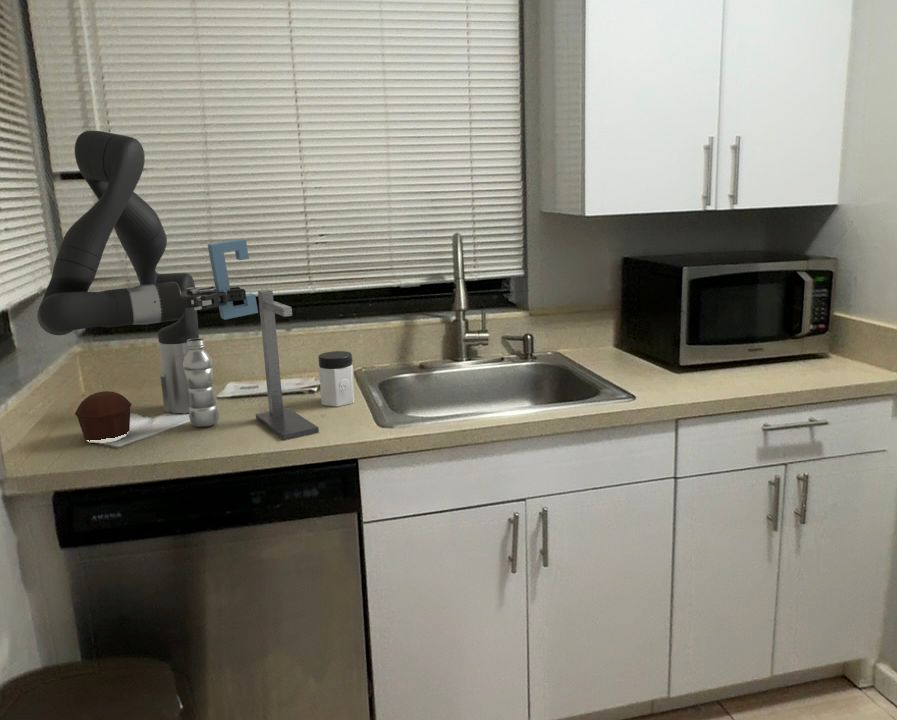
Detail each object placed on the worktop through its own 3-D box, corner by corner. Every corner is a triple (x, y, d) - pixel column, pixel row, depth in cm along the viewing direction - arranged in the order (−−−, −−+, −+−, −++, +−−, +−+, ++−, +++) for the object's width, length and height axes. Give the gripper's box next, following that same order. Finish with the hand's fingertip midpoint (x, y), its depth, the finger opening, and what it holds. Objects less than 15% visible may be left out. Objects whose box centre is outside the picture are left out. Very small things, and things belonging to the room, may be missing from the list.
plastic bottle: (204, 431, 168) (193, 344, 164) (184, 427, 172) (173, 341, 167) (226, 423, 174) (217, 338, 169) (206, 419, 177) (196, 335, 172)
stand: (284, 440, 161) (271, 301, 154) (255, 419, 176) (243, 291, 169) (318, 432, 165) (308, 296, 158) (288, 412, 180) (277, 287, 173)
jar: (328, 409, 182) (325, 360, 179) (315, 401, 188) (311, 354, 186) (362, 402, 187) (359, 354, 184) (347, 394, 193) (344, 349, 190)
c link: (224, 319, 152) (211, 245, 148) (220, 317, 154) (207, 244, 150) (258, 312, 156) (245, 239, 151) (254, 310, 158) (241, 238, 153)
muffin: (114, 447, 160) (107, 402, 158) (67, 445, 162) (60, 401, 160) (145, 429, 172) (140, 386, 169) (101, 427, 174) (95, 385, 171)
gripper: (160, 288, 139) (252, 278, 148) (144, 279, 150) (230, 270, 159) (165, 328, 141) (255, 316, 150) (149, 316, 152) (234, 306, 161)
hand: (242, 293), depth 154 cm, fingers closed on c link, 2 cm apart
